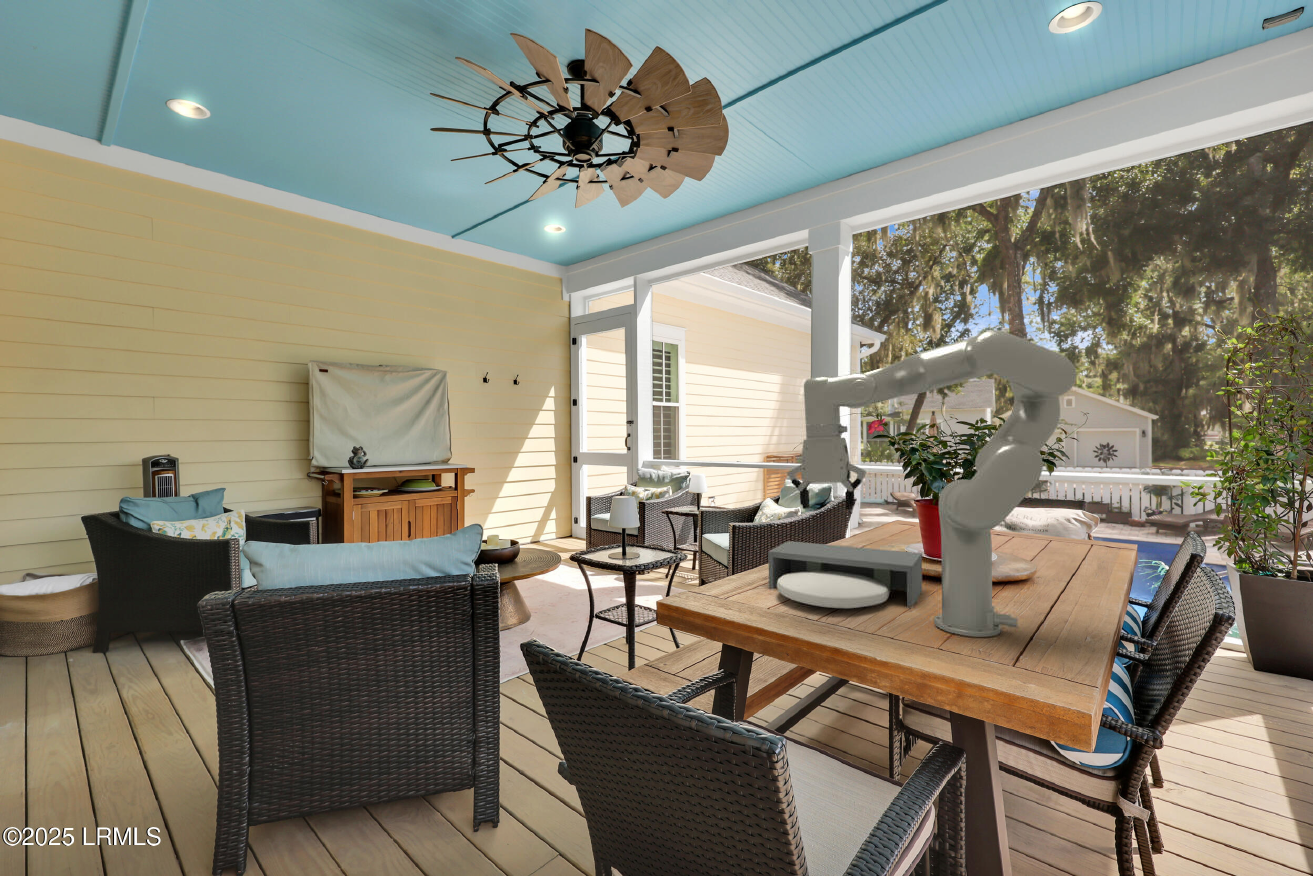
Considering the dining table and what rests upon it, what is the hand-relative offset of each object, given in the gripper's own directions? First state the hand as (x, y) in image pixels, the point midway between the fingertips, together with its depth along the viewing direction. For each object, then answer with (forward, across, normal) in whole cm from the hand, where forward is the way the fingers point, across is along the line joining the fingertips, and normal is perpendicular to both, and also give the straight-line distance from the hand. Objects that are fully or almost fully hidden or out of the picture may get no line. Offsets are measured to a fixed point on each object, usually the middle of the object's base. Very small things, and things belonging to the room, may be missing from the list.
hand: (827, 508), depth 131 cm
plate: (+26, +4, -16) cm, 30 cm away
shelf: (+25, +4, -26) cm, 36 cm away
